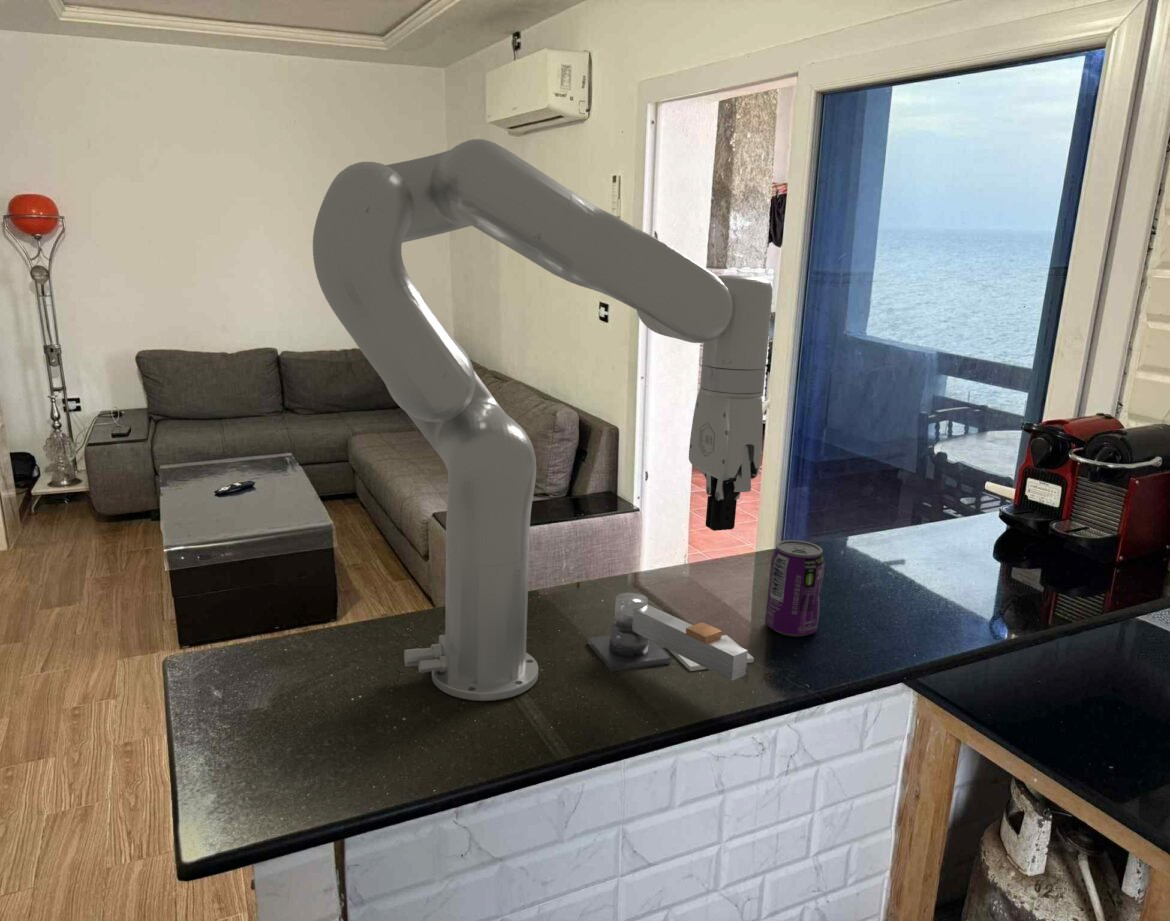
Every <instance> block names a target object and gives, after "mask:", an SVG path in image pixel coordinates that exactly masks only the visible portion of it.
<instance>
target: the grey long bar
mask: <svg viewBox="0 0 1170 921" xmlns="http://www.w3.org/2000/svg"><path fill="white" fill-rule="evenodd" d="M614 610H615V611H614V621H613V623H614V624H615V626H616V627H617V628H619V629H622V630H625V631H633V632H635V633H637V634H639V635H641V636H643V637H645V638H647V639H649V640H651V641H653V642H655V643H657V644H658V645H659V646H660V647H662V648H665V649H666V650H668V649H669V650H671V651H673V652H675V653H677V654H679V655H681V656H683V657H685V658H687V659H689V660H691V661H693V662H695V663H697V664H699V665H701V666H703V667H705V668H707V669H706V670H709V671H711V672H713V673H715V674H717V675H719V676H721V677H723V678H725V679H728V680H729V681H730V682H732V681H734V680H738V679H739V678H741V677H744V676H746V673H747V672H746V671H747V664H748V663H747V653H749V652H748V649H745V648H743V647H742V646H740V645H739V646H740V647H739V646H737V645H735V644H733V643H730V642H728V641H726V640H724V639H722V638H721V636H722V635H723V634H722V633H723V632H722V630H720V629H719V628H716V627H714V626H711V625H710V624H707V623H705V622H703V621H702V622H699V623H696V624H694V625H693V624H691V623H689V622H687V621H685V620H683V619H680V618H678V617H676V616H673V615H671V614H669V613H667V612H665V611H663V610H660V609H658V608H656V607H654V606H652V605H650V604H648V597H647V596H645V595H643V594H641V593H637V592H622V593H619V594H617V595H616V596H615V608H614ZM669 650H668V651H669Z"/></svg>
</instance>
